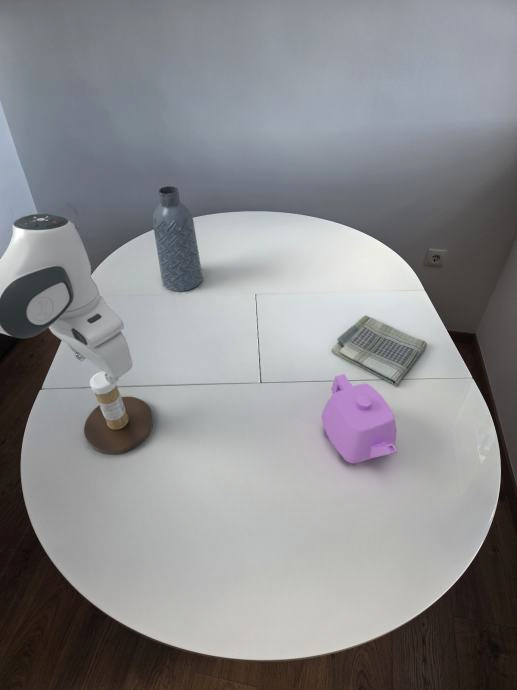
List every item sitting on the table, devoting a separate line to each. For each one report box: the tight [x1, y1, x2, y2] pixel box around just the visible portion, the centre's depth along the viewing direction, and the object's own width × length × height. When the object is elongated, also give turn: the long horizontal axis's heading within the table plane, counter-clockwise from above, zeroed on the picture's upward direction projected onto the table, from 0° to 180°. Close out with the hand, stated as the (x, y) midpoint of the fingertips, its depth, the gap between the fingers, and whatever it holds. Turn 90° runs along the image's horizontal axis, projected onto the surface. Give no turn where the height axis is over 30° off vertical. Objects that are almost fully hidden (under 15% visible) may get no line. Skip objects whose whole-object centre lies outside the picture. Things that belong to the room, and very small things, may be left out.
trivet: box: [83, 396, 154, 456], centre depth 91 cm, size 14×14×2 cm
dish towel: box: [331, 315, 428, 386], centre depth 107 cm, size 19×18×3 cm
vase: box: [152, 185, 203, 292], centre depth 121 cm, size 12×12×28 cm
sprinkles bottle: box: [89, 370, 129, 430], centre depth 86 cm, size 5×5×14 cm
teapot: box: [321, 373, 398, 464], centre depth 84 cm, size 20×12×13 cm, turn 22°
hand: (97, 369), depth 79 cm, fingers open, 8 cm apart
